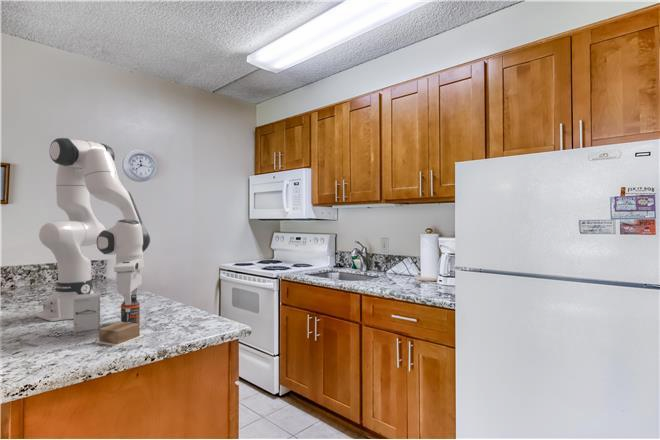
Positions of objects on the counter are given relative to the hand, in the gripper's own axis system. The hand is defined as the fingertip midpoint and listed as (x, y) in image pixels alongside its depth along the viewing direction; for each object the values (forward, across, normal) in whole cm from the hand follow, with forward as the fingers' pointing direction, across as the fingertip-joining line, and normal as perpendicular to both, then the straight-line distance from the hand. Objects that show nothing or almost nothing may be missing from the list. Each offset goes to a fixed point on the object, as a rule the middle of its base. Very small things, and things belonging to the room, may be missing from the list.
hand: (131, 301), depth 130 cm
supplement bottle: (+10, -1, -1) cm, 10 cm away
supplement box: (+9, -1, -14) cm, 17 cm away
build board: (+10, +13, -2) cm, 16 cm away
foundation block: (+8, +16, 0) cm, 18 cm away
